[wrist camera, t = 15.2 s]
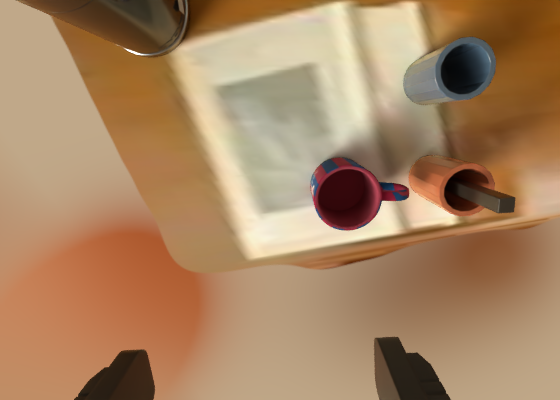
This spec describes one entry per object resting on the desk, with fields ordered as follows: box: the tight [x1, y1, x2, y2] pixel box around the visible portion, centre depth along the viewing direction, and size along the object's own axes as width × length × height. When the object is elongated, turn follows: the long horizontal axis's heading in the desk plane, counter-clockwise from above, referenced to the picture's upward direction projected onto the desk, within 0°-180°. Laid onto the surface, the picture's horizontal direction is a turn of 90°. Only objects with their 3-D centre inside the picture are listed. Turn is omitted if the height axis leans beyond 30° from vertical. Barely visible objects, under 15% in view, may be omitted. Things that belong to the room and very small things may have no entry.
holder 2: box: [409, 155, 495, 216], centre depth 33 cm, size 5×5×8 cm
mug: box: [310, 157, 409, 230], centre depth 34 cm, size 7×10×7 cm
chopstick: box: [444, 176, 515, 213], centre depth 30 cm, size 1×1×13 cm
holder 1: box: [403, 37, 496, 105], centre depth 30 cm, size 5×5×8 cm
